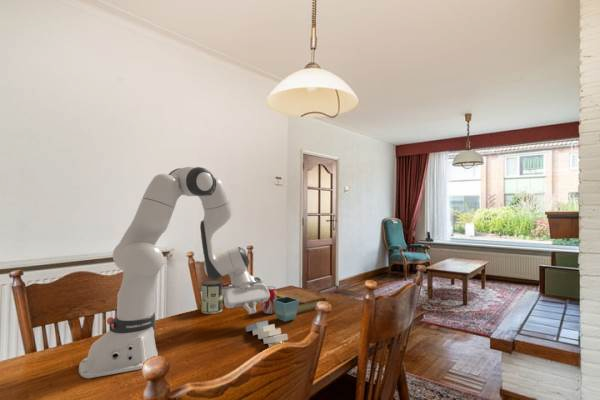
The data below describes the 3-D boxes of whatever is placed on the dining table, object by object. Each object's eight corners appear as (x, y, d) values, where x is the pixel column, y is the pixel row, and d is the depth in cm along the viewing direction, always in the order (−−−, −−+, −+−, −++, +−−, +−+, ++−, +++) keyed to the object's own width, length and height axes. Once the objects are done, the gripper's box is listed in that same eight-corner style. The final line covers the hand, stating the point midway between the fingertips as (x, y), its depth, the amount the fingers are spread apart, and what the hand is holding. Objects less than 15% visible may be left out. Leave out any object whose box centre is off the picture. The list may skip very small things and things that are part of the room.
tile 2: (258, 339, 125) (269, 336, 117) (257, 334, 125) (268, 330, 118) (270, 336, 127) (281, 333, 120) (269, 331, 128) (280, 327, 121)
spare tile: (246, 331, 132) (257, 328, 125) (245, 326, 133) (256, 322, 126) (257, 329, 135) (268, 325, 128) (256, 324, 136) (267, 320, 129)
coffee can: (215, 306, 166) (216, 278, 167) (226, 310, 159) (227, 282, 160) (197, 310, 159) (197, 281, 159) (208, 315, 152) (208, 285, 152)
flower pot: (272, 319, 148) (272, 299, 148) (287, 315, 154) (287, 296, 154) (284, 324, 141) (284, 303, 142) (299, 320, 147) (299, 300, 148)
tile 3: (263, 343, 121) (275, 342, 113) (263, 338, 122) (274, 336, 114) (275, 341, 124) (288, 339, 116) (274, 335, 124) (287, 333, 117)
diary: (325, 308, 167) (326, 297, 167) (297, 315, 156) (297, 303, 156) (298, 298, 185) (298, 287, 185) (271, 303, 174) (271, 292, 174)
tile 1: (253, 335, 128) (263, 331, 121) (252, 330, 129) (262, 326, 122) (264, 333, 131) (275, 329, 124) (263, 327, 132) (274, 323, 125)
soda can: (274, 315, 153) (274, 289, 154) (260, 314, 155) (260, 288, 155) (278, 310, 160) (278, 286, 161) (264, 309, 162) (264, 285, 162)
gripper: (222, 283, 134) (231, 313, 126) (265, 277, 146) (276, 304, 138) (218, 291, 137) (226, 321, 129) (260, 285, 150) (270, 312, 141)
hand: (252, 312), depth 134 cm, fingers closed
